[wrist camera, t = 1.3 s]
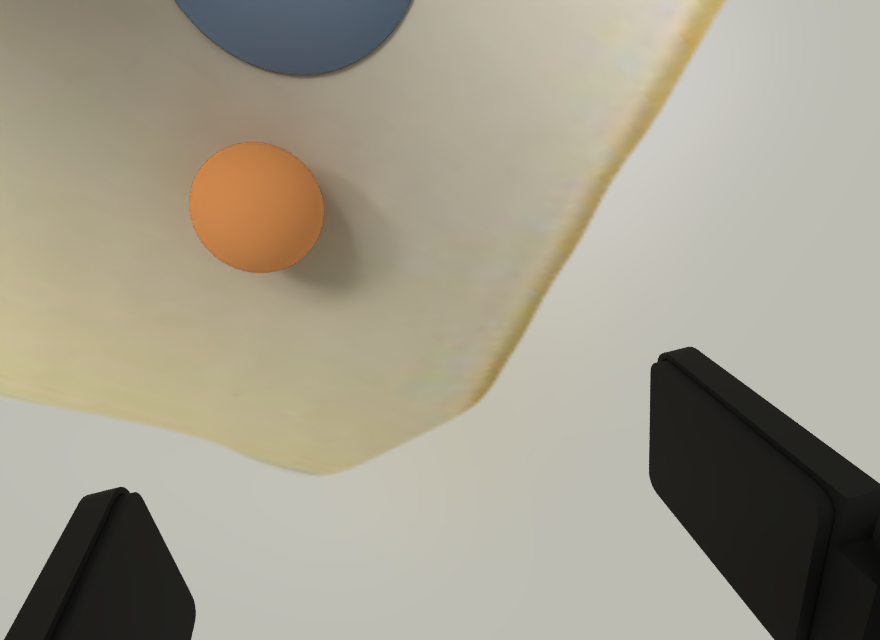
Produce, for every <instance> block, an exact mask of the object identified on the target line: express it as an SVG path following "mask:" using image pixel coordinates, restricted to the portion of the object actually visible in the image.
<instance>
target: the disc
mask: <svg viewBox="0 0 880 640" xmlns="http://www.w3.org/2000/svg"><path fill="white" fill-rule="evenodd" d="M175 1H176V3H177V4H178V6H179V7H180V8H181V10H182V11H183V12H184V13H185V14H186V15H187V17H188V18H189V19H190V20H191V21H192V23H193V24H194V25H195V26H196V27H198V28H199V29H200V30H201V31H202V32H203V33H204V34H205V35H206V36H207V37H208V38H209V39H211V40H212V41H213V42H215V43H216V44H217V45H219V46H220V47H221V48H223V49H224V50H226V51H227V52H229V53H231V54H232V55H234V56H236V57H237V58H239V59H241V60H243V61H245V62H248V63H250V64H252V65H255V66H257V67H260V68H263V69H267V70H270V71H274V72H279V73H286V74H293V75H311V74H319V73H326V72H329V71H333V70H337V69H340V68H343V67H345V66H347V65H349V64H352V63H354V62H356V61H358V60H359V59H361V58H362V57H364V56H366V55H367V54H369V53H370V52H371V51H372V50H374V49H375V48H376V47H377V46H378V45H380V44H381V43H382V42H383V41H384V40H385V38H386V37H387V36H388V35H389V34H390V33H391V32H392V31H393V29H394V28H395V26H396V25H397V23H398V22H399V20H400V19H401V17H402V16H403V14H404V12H405V10H406V8H407V6H408V4H409V2H410V0H175Z"/></svg>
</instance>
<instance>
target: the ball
mask: <svg viewBox="0 0 880 640" xmlns="http://www.w3.org/2000/svg"><path fill="white" fill-rule="evenodd" d="M189 208H190V215H191V220H192V224H193V227H194V229H195V231H196V233H197V235H198V237H199V239H200V240H201V242H202V243H203V244H204V246H205V247H206V248H207V249H208V250H209V251H210V252H211V253H212V254H213V255H214V256H215V257H217V258H218V259H219V260H221V261H222V262H224V263H226V264H227V265H229V266H232V267H234V268H236V269H240V270H243V271H248V272H255V273H266V272H273V271H278V270H281V269H285V268H287V267H289V266H291V265H293V264H295V263H296V262H298V261H299V260H300V259H302V258H303V257H304V256H305V255H306V254H307V253H308V252H309V251H310V250H311V248H312V247H313V246H314V244H315V243H316V241H317V239H318V237H319V235H320V232H321V229H322V224H323V219H324V204H323V198H322V194H321V191H320V188H319V186H318V184H317V182H316V180H315V178H314V176H313V175H312V173H311V172H310V170H309V169H308V168H307V167H306V166H305V165H304V164H303V163H302V162H301V161H300V160H299V159H298V158H297V157H295V156H294V155H292V154H291V153H289V152H287V151H286V150H284V149H282V148H279V147H276V146H274V145H270V144H266V143H258V142H247V143H240V144H236V145H232V146H229V147H227V148H225V149H222V150H220V151H219V152H217V153H216V154H214V155H213V156H212V157H210V158H209V159H208V160H207V161H206V162H205V163H204V164H203V166H202V167H201V168H200V170H199V171H198V173H197V175H196V177H195V179H194V181H193V184H192V187H191V191H190V199H189Z"/></svg>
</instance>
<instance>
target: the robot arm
mask: <svg viewBox="0 0 880 640" xmlns="http://www.w3.org/2000/svg"><path fill="white" fill-rule="evenodd" d="M650 383H651V385H650V449H649V450H650V451H649V476H650V480H651V483H652V486H653V488H654V490H655V491H656V493H657V494H658V495H659V497H660V498H661V499H662V500H663V502H664V503H665V504H666V505H667V507H668V508H669V509H670V510H671V512H672V513H673V514H674V515H675V517H677V519H678V520H679V521H680V523H681V524H682V525H683V526H684V528H685V529H686V530H687V531H688V533H689V534H690V535H691V536H692V538H693V539H694V540H695V541H696V543H697V544H698V545H699V546H700V548H701V549H702V550H703V551H704V552H705V554H706V555H707V556H708V557H709V559H710V560H711V561H712V563H713V564H714V565H715V566H716V567H717V569H718V570H719V571H720V573H721V574H722V575H723V576H724V577H725V579H726V580H727V581H728V582H729V584H730V585H731V586H732V587H733V589H734V590H735V591H736V592H737V593H738V595H739V596H740V597H741V599H742V600H743V601H744V602H745V604H746V605H747V606H748V607H749V609H750V610H751V611H752V612H753V614H754V615H755V616H756V617H757V618H758V620H759V621H760V622H761V623H762V625H763V626H764V627H765V628H766V630H767V631H768V632H769V633H770V635H771V636H772V637H773V638H774V640H880V484H879V483H878V482H877V481H875V480H874V479H873V478H871V477H870V476H869V475H867V474H866V473H864V472H863V471H862V470H860V469H859V468H858V467H856V466H855V465H854V464H852V463H851V462H850V461H848V460H847V459H845V458H844V457H843V456H841V455H840V454H839V453H837V452H836V451H835V450H833V449H832V448H831V447H829V446H828V445H826V444H825V443H824V442H822V441H821V440H819V439H818V438H817V437H816V436H814V435H813V434H811V433H810V432H809V431H807V430H806V429H805V428H803V427H802V426H801V425H799V424H798V423H796V422H795V421H794V420H792V419H791V418H789V417H788V416H787V415H786V414H784V413H783V412H781V411H780V410H779V409H777V408H776V407H775V406H773V405H772V404H771V403H769V402H768V401H766V400H765V399H764V398H762V397H761V396H760V395H758V394H757V393H756V392H754V391H753V390H752V389H750V388H749V387H747V386H746V385H744V384H743V383H742V382H741V381H739V380H738V379H737V378H735V377H734V376H732V375H731V374H729V373H728V372H727V371H726V370H724V369H723V368H722V367H720V366H719V365H718V364H716V363H715V362H713V361H712V360H711V359H709V358H708V357H707V356H705V355H704V354H703V353H701V352H700V351H699V350H697V349H695V348H693V347H686V348H682V349H678V350H674V351H670V352H666V353H662V354H661V355H660V356H659V358H658V362H657V363H654V364H653V365H652V367H651V382H650ZM195 613H196V610H195V604H194V599H193V597H192V595H191V593H190V591H189V589H188V587H187V585H186V583H185V581H184V579H183V577H182V575H181V573H180V572H179V569H178V567H177V565H176V563H175V562H174V559H173V558H172V555H171V553H170V552H169V550H168V548H167V546H166V544H165V542H164V540H163V538H162V536H161V534H160V532H159V530H158V528H157V526H156V524H155V522H154V520H153V518H152V516H151V514H150V512H149V510H148V508H147V506H146V504H145V502H144V500H143V498H142V497H141V496H140V494H138V493H136V492H134V493H129V491H128V490H127V489H126V488H124V487H118V488H114V489H110V490H106V491H102V492H98V493H94V494H90V495H87V496H85V497H83V498H82V499H81V501H80V502H79V504H78V506H77V508H76V509H75V511H74V513H73V515H72V517H71V519H70V520H69V523H68V524H67V526H66V528H65V530H64V531H63V533H62V535H61V537H60V539H59V541H58V542H57V544H56V546H55V548H54V550H53V552H52V553H51V555H50V557H49V559H48V560H47V563H46V564H45V566H44V568H43V570H42V572H41V573H40V575H39V577H38V579H37V581H36V582H35V584H34V586H33V588H32V590H31V591H30V593H29V595H28V597H27V599H26V601H25V603H24V604H23V606H22V608H21V610H20V612H19V613H18V615H17V617H16V619H15V621H14V623H13V624H12V626H11V628H10V630H9V632H8V633H7V636H6V637H5V639H4V640H191V637H192V632H193V628H194V623H195V616H196V614H195Z"/></svg>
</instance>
